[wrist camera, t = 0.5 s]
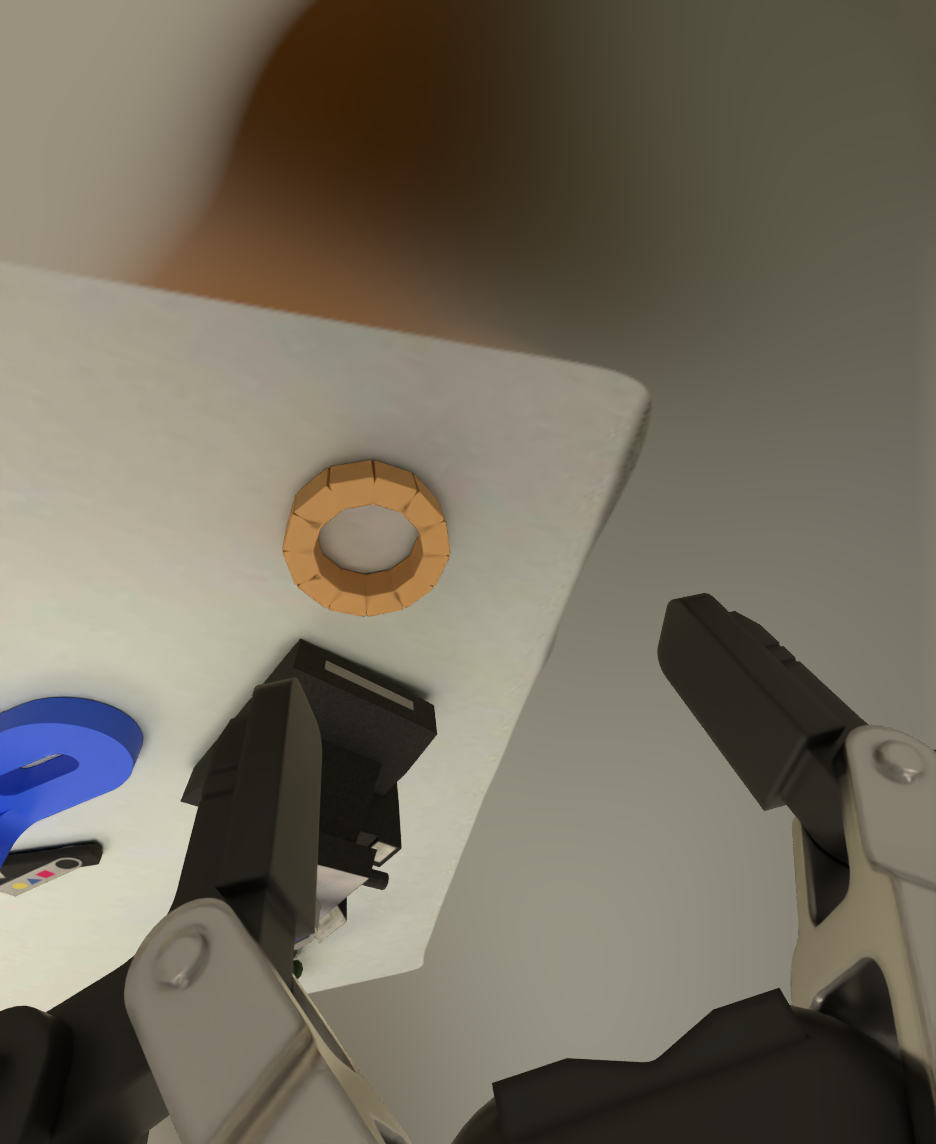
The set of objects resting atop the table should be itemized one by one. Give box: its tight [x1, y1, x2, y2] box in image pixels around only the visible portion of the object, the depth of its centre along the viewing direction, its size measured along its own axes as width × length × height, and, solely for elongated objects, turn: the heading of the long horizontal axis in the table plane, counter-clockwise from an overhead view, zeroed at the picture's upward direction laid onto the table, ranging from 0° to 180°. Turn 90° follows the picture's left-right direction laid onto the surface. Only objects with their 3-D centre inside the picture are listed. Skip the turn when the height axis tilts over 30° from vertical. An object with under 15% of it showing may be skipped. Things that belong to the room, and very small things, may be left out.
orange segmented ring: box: [282, 460, 450, 617], centre depth 28 cm, size 9×9×2 cm
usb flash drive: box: [0, 844, 103, 896], centre depth 40 cm, size 9×5×1 cm, turn 84°
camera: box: [181, 639, 437, 950], centre depth 33 cm, size 16×14×15 cm
